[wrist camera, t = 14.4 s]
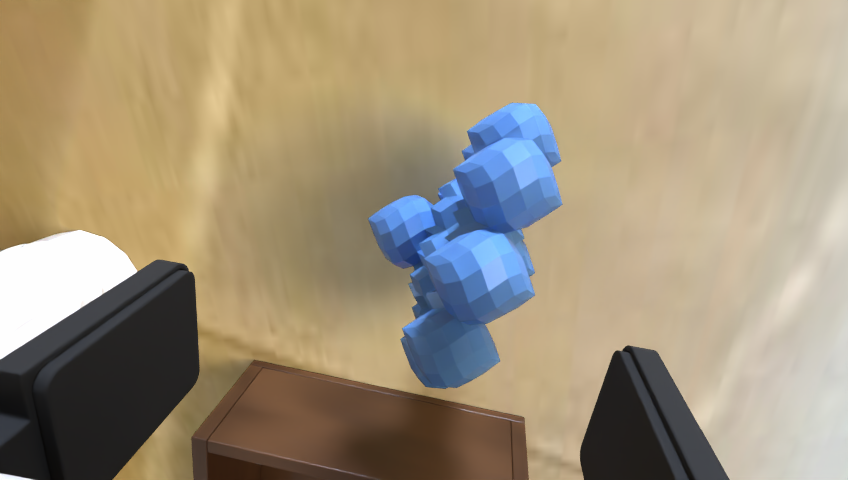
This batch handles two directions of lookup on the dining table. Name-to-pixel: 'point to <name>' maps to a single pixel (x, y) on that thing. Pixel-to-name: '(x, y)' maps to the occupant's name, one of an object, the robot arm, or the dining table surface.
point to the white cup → (54, 282)
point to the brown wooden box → (350, 433)
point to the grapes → (472, 244)
